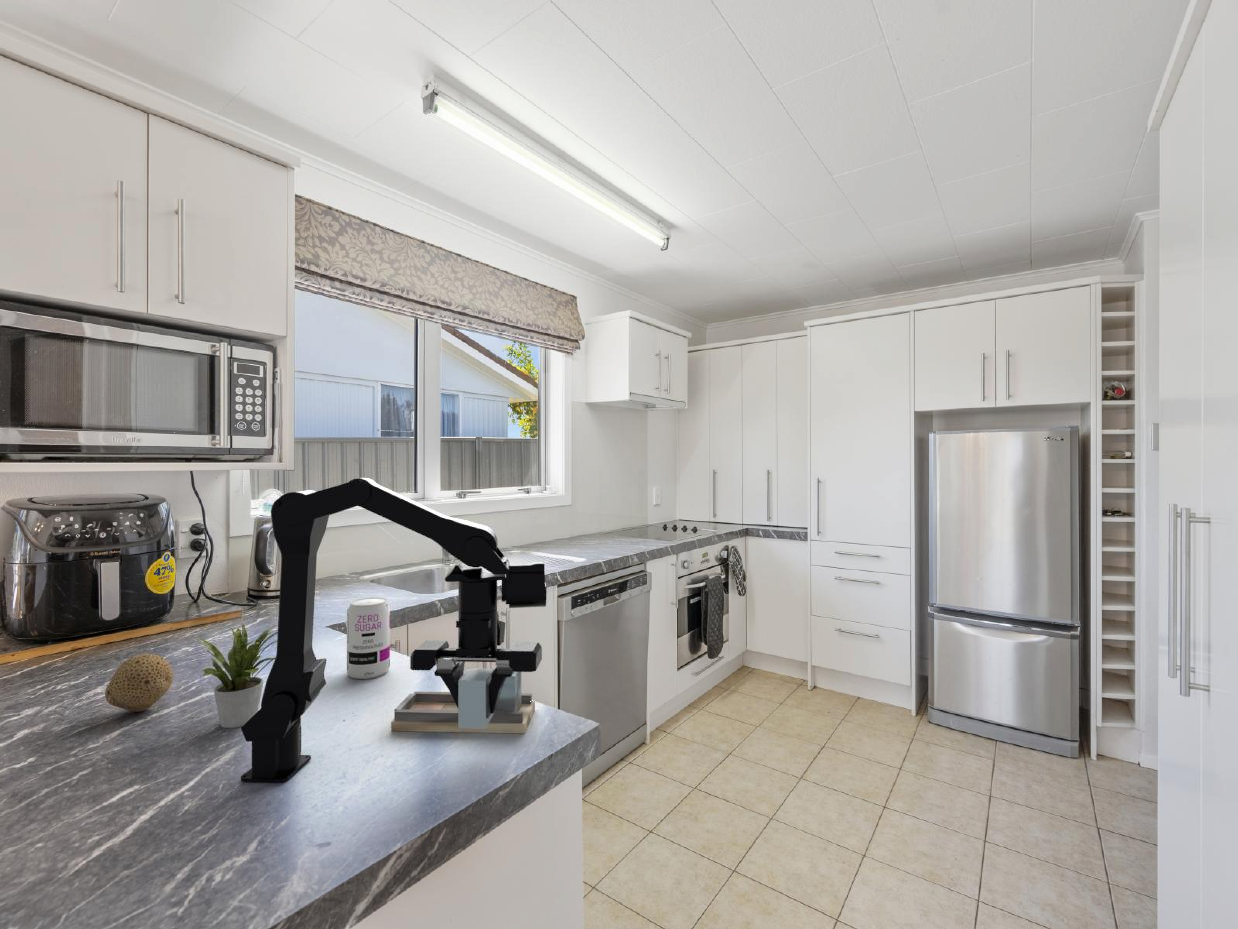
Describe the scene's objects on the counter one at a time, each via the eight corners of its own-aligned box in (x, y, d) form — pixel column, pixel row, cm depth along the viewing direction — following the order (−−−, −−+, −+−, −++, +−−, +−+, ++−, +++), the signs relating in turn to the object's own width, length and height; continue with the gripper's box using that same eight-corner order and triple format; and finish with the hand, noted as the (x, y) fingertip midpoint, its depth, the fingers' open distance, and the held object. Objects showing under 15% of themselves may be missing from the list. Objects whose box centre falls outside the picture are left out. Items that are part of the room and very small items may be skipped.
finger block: (487, 728, 84) (487, 681, 84) (458, 728, 84) (458, 680, 84) (495, 714, 89) (495, 668, 89) (468, 713, 89) (468, 668, 89)
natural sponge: (182, 709, 102) (182, 653, 102) (117, 728, 94) (117, 667, 94) (162, 697, 107) (162, 644, 107) (100, 714, 100) (100, 657, 100)
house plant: (310, 715, 99) (310, 621, 99) (222, 749, 87) (222, 642, 87) (265, 698, 107) (266, 610, 107) (178, 727, 95) (179, 629, 95)
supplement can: (377, 663, 125) (377, 595, 125) (397, 672, 120) (397, 600, 120) (339, 674, 119) (339, 601, 119) (358, 683, 114) (359, 608, 114)
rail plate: (524, 733, 93) (524, 681, 93) (391, 731, 94) (391, 679, 94) (534, 709, 102) (534, 662, 102) (412, 707, 103) (412, 660, 103)
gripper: (547, 597, 94) (547, 692, 94) (435, 596, 95) (435, 690, 95) (535, 615, 83) (535, 722, 83) (408, 613, 84) (408, 720, 84)
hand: (477, 712), depth 87 cm, fingers closed on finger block, 4 cm apart
